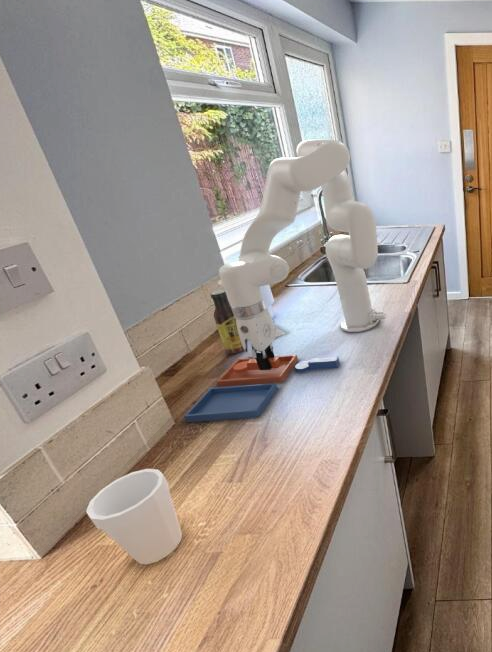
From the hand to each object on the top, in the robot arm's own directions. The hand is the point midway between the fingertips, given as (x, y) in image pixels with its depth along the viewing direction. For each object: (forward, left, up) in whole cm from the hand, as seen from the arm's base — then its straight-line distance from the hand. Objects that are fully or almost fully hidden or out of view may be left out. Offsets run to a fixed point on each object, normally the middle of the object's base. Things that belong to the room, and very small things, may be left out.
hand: (268, 365), depth 115 cm
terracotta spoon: (+3, 0, 0) cm, 3 cm away
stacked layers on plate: (+12, -23, -3) cm, 26 cm away
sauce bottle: (+17, -15, -3) cm, 23 cm away
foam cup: (-4, +52, -3) cm, 52 cm away
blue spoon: (-13, -1, -2) cm, 13 cm away
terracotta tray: (+3, 0, -2) cm, 4 cm away
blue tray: (+3, +14, -2) cm, 14 cm away
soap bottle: (+19, -37, -3) cm, 42 cm away
